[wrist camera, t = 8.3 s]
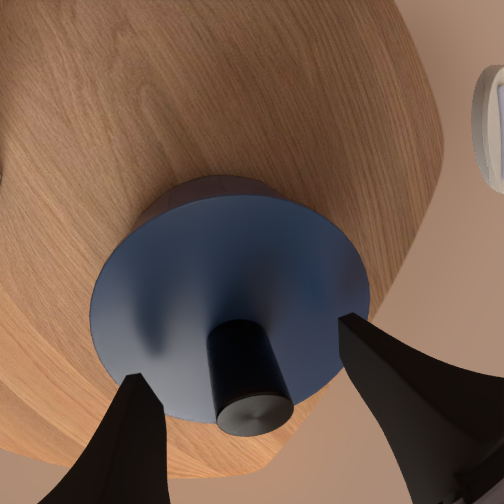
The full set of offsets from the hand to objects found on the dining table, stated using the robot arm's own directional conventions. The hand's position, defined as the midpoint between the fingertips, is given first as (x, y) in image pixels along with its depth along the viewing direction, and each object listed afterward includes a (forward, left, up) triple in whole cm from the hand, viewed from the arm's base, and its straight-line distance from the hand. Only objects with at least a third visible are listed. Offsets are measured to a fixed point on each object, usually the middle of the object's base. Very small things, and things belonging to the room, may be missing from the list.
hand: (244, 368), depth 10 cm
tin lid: (0, 0, -2) cm, 2 cm away
